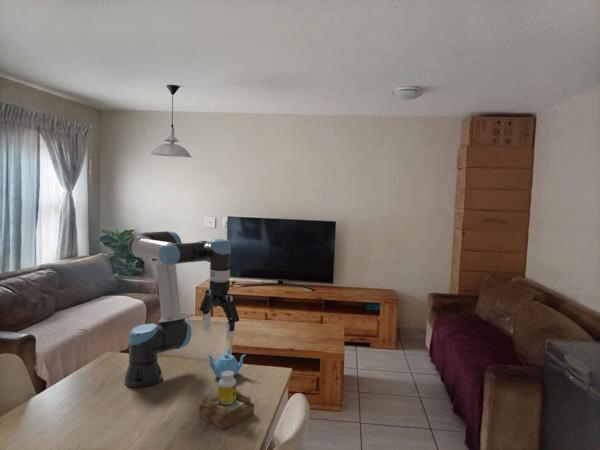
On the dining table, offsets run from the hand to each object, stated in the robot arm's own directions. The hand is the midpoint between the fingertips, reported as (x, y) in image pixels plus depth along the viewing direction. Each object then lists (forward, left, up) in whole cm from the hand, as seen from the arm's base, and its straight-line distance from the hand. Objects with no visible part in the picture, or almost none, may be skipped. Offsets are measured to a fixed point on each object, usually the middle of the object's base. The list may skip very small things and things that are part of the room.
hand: (218, 334), depth 156 cm
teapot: (-16, +18, -28) cm, 37 cm away
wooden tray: (+9, -4, -27) cm, 29 cm away
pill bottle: (+10, -4, -23) cm, 25 cm away
